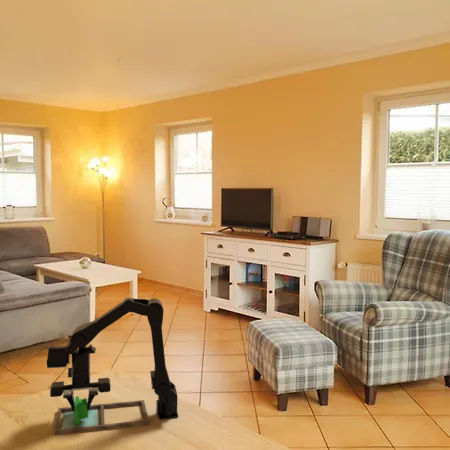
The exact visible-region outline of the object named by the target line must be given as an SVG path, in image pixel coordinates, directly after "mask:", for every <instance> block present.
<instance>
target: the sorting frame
mask: <svg viewBox="0 0 450 450" xmlns="http://www.w3.org/2000/svg"><path fill="white" fill-rule="evenodd" d="M131 406H132V407H133V406H141V410H142V415H143V420H135V421H134V420H133V421H132V420H131V421H124V422H115V423H106V422H105V409H113V408H123V407H124V408H125V407H131ZM99 410H100V424H99V413H98V412H99ZM62 413H63V420H62V427H61V428H60V425H61V416H62ZM148 416H149V415H148V411H147V408H146V403H145V400H144V399H142V400H140V399H139V400H132V401H131V400H130V401H119V402H110V403H99V404H98V403H97V404H91V405H90V408H89V411H88V418H84V419H80V424H76V420H75V414H74V412H73V410H72V408H71V406H69V407H68V406H65V407H64V406H63V407H58V408H57V416H56V422H55V427H54V435H65V434H74V433H83V432H84V433H85V432H94V431H103V430H111V429H112V430H113V429H122V428H130V427H140V426H149V425H150V420H149V417H148Z"/></svg>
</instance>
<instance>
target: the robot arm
mask: <svg viewBox="0 0 450 450" xmlns="http://www.w3.org/2000/svg"><path fill="white" fill-rule="evenodd" d="M128 313H134V314H136V315H140V316H145V317H146V318H147V321H148V324H149V327H150V334H151V341H152V351H153V352H152V353H153V362H154V363H153V364H154V369H153V370H150V371H149V372H150V385H151V390H154V394H155V395H157V400H156V401H155V402H156V404H155V405H156V406H155V411H156V415H157V416H158V419H159V420H162V419H165V420H166V419H173V418H179V413H178V399H179V398H178V392H177V388H176V384H174V383H173V382H172V381H171V380H170V375H169V373H168V372H169V371H168V369H167V366H166V358H165V357H166V356H165V349H164V348H165V346H164V335H163V329H162V328H163V322H164V321H163V320H164V307H163V303H162V301H161V300H160V299H158V298H150V299H146V298H133V297H126V298H125V299H123V300H122V301H121V302H119V303H117V305H115V306H114V307H112V308H111V309H109V310H108V311H107V312H104V313H103V314H102V315H101V316H99V317H97V318H96V319H94V320H92V321H89V322H86V323H84V324H81V325H79V326H77V327H76V328H75V329H73V331H72V334H71V336H70V340H69V341H68V342H67V344H66V346H65V345H61V346H55V345H50V346H49V347H48V348H47V350H48V351H47V359H46V368H47V369H56V368H57V369H58V368H59V369H60V368H67V366H68V365H70V364H71V367H68V368H67V378H69V379H70V378H71V384H65V381H64V380H63V381H53V382H51V384H50V390H49V391H50V392H49V396H50V397H51V398H56V397H61V396H62V398H63V399H66V401H67V402H68V404H69V405H70V407H71V408H72V410H73V411H72V412H74V407H75V395H74V393H75V392H74V391H82V390H83V391H84V390H88V396H87V411H89V408H90V405H92V402H93V400H94V398H95V397H96V396H98V395H99V393H109V392H111V379H110V378H109V377H101V378H100V377H99V378H98V379H97V381H94V382H93V381H92V382H91V354H96V350H97V349H96V347H94V345H92V343H91V342H92V341H93V340H94V339H95V338H96V337H97V336H98V335H99V334H100V333H101V332H102V331H103V330H105V329H106V328H108V327H109V326H111V325H112V324H114V323H115V322H117V321H119V320H120V319H121V318H123V317H124V316H126V315H128Z"/></svg>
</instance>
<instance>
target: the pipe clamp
mask: <svg viewBox="0 0 450 450" xmlns="http://www.w3.org/2000/svg"><path fill="white" fill-rule="evenodd" d="M74 401H75V407H74V414H75V420H76V424H80V419H84V418H88V411H87V401H88V397H84V398H81V399H80V396H79V395H77V396H74Z"/></svg>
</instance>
